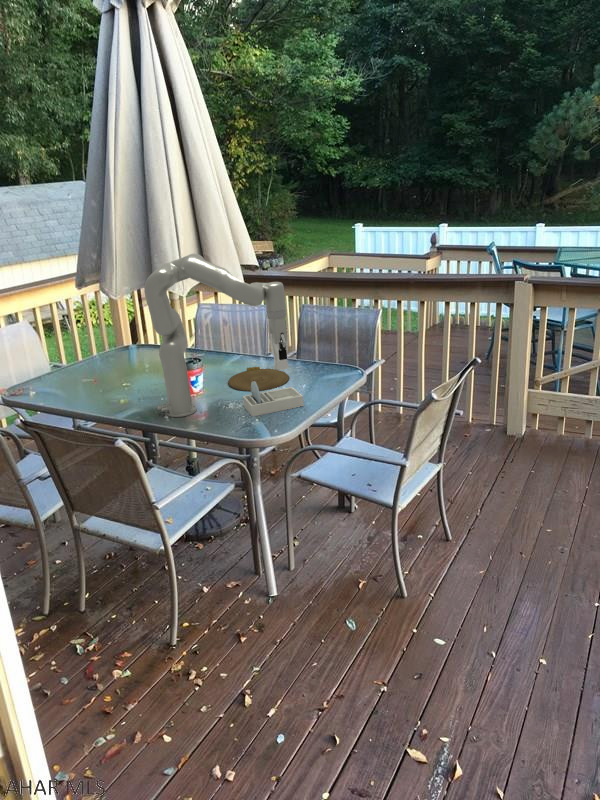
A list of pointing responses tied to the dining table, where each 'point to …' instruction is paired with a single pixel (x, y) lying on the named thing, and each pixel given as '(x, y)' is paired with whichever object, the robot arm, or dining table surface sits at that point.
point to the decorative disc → (258, 379)
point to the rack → (271, 400)
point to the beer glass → (278, 363)
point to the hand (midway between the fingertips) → (280, 356)
